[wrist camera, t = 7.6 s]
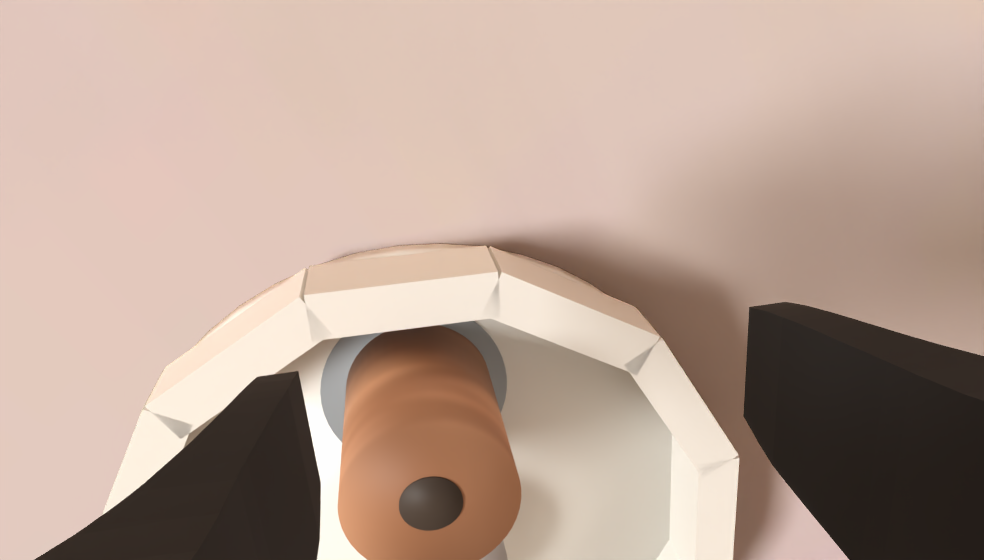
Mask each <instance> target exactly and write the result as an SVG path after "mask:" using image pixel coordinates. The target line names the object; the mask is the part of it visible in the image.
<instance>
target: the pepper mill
mask: <svg viewBox="0 0 984 560" xmlns="http://www.w3.org/2000/svg"><path fill="white" fill-rule="evenodd" d="M520 504H521V484H520V479H519V475H518V472H517V468H516V465H515V461H514V458H513V454H512V451H511V447H510V444H509V440H508V437H507V434H506V430H505V427H504V423H503V420H502V416H501V413H500V409H499V406H498V402H497V399H496V395H495V392H494V388H493V385H492V382H491V378H490V375H489V371H488V368H487V365H486V362H485V360H484V358H483V356H482V354H481V353H480V352H479V350H478V349H477V348H476V346H475V345H474V344H473V343H472V342H471V341H469V340H468V339H467V338H466V337H464V336H463V335H461V334H460V333H458V332H456V331H454V330H452V329H449V328H446V327H443V326H440V325H435V326H428V327H420V328H412V329H404V330H396V331H389V332H383V333H382V334H380V335H378V336H377V337H375V338H374V339H373V340H371V341H370V342H369V343H367V345H366V346H365V347H364V348H363V349H362V350H361V351H360V352H359V354H358V355H357V356H356V358H355V359H354V361H353V363H352V365H351V368H350V370H349V373H348V377H347V383H346V396H345V410H344V424H343V438H342V451H341V465H340V479H339V493H338V517H339V521H340V524H341V528H342V530H343V532H344V534H345V536H346V538H347V539H348V541H349V542H350V544H351V545H352V546H353V547H354V548H355V549H356V551H357V552H358V553H360V554H361V555H362V556H363V557H364V558H366V559H367V560H480V559H482V558H483V557H485V556H486V555H487V554H489V553H490V552H492V551H493V550H494V549H495V548H496V547H497V546H498V545H499V544H500V543H501V542H502V541H503V540H504V538H505V537H506V536H507V535H508V533H509V532H510V530H511V529H512V527H513V525H514V523H515V521H516V519H517V516H518V513H519V509H520Z"/></svg>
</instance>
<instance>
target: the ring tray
mask: <svg viewBox="0 0 984 560" xmlns="http://www.w3.org/2000/svg"><path fill="white" fill-rule="evenodd" d="M435 325H440V326H443V327H446V328H449V329H452V330H454V331H456V332H458V333H460V334H461V335H463V336H464V337H466V338H467V339H468V340H469V341H471V342H472V343H473V344H474V345H475V346H476V348H477V349H478V350H479V352H480V353H481V354H482V356H483V358H484V360H485V362H486V365H487V368H488V371H489V375H490V378H491V382H492V385H493V388H494V392H495V395H496V399H497V402H498V406H499V409H500V413H501V416H502V420H503V423H504V427H505V430H506V434H507V437H508V440H509V444H510V447H511V451H512V454H513V458H514V461H515V465H516V468H517V472H518V475H519V479H520V484H521V504H520V509H519V513H518V516H517V519H516V521H515V523H514V525H513V527H512V529H511V530H510V532H509V533H508V535H507V536H506V537H505V538H504V540H503V541H502V542H501V543H500V544H499V545H498V546H497V547H496V548H495V549H494V550H493V551H492V552H490V553H489V554H487V555H486V556H485V557H483V558H482V559H480V560H733V549H734V534H735V519H736V503H737V488H738V473H739V457H738V453H737V452H736V450H735V449H734V447H733V446H732V444H731V443H730V441H729V439H728V438H727V436H726V435H725V433H724V432H723V430H722V429H721V427H720V426H719V424H718V423H717V421H716V420H715V418H714V417H713V415H712V413H711V412H710V410H709V409H708V407H707V406H706V404H705V403H704V401H703V400H702V398H701V397H700V395H699V394H698V392H697V391H696V389H695V387H694V386H693V384H692V383H691V381H690V380H689V378H688V377H687V375H686V374H685V372H684V371H683V369H682V368H681V366H680V365H679V363H678V361H677V360H676V358H675V357H674V355H673V354H672V352H671V351H670V349H669V348H668V346H667V345H666V343H665V342H664V340H663V339H662V337H661V336H660V335H659V334H658V333H657V332H656V330H655V329H654V328H653V327H652V326H651V324H650V323H649V322H648V321H647V320H646V318H645V317H644V316H643V315H642V314H641V313H640V311H639V310H638V309H636V308H635V306H632V305H630V304H628V303H625V302H623V301H620V300H618V299H616V298H613V297H611V296H608V295H606V294H605V293H603V292H602V291H600V290H599V289H597V288H596V287H595V286H593V285H592V284H590V283H588V282H586V281H584V280H582V279H580V278H578V277H576V276H574V275H572V274H570V273H568V272H566V271H564V270H562V269H560V268H558V267H556V266H553V265H550V264H547V263H544V262H541V261H538V260H535V259H533V258H530V257H527V256H524V255H521V254H516V253H511V252H506V251H501V250H498V249H496V248H494V247H491V246H490V247H489V248H487V247H486V245H485V246H467V245H453V244H422V245H403V246H394V247H388V248H383V249H377V250H371V251H366V252H360V253H355V254H352V255H348V256H345V257H342V258H339V259H335V260H332V261H329V262H326V263H322V264H319V265H313V266H309V269H306V267H305V268H304V269H303V270H301V271H300V272H298V273H297V274H296V275H293V276H291V277H289V278H287V279H285V280H282V281H280V282H278V283H276V284H274V285H272V286H271V287H269V288H268V289H266V290H264V291H263V292H261V293H259V294H258V295H256V296H255V297H253V298H251V299H250V300H248V301H246V302H245V303H243V304H242V305H240V306H239V307H237V308H236V309H235V310H234V311H233V312H231V313H230V314H229V315H228V316H226V317H225V318H224V319H223V320H222V321H220V322H219V323H218V324H217V325H216V326H214V327H213V328H212V329H211V330H209V331H208V332H207V333H206V334H205V335H204V337H203V338H202V339H201V340H200V341H199V342H198V343H197V344H196V345H195V346H194V347H193V348H192V349H190V350H189V351H187V352H186V353H185V354H183V355H182V356H180V357H179V358H178V359H176V360H175V361H173V362H172V363H171V364H169V365H168V366H166V367H165V369H164V370H163V371H162V373H161V375H160V377H159V379H158V381H157V383H156V385H155V386H154V388H153V390H152V392H151V394H150V396H149V398H148V400H147V401H146V403H145V405H144V407H143V409H142V411H141V414H140V417H139V419H138V422H137V425H136V427H135V430H134V432H133V435H132V438H131V440H130V443H129V446H128V448H127V451H126V453H125V456H124V459H123V461H122V464H121V467H120V469H119V472H118V475H117V477H116V480H115V482H114V485H113V488H112V490H111V493H110V496H109V498H108V501H107V503H106V506H105V509H104V511H103V514H105V513H106V512H107V511H109V510H110V509H112V508H113V507H114V506H116V505H117V504H118V503H120V502H121V501H122V500H124V499H125V498H126V497H127V496H129V495H130V494H131V493H133V492H134V491H135V490H136V489H138V488H139V487H140V486H141V485H143V484H144V483H145V482H146V481H147V480H148V479H150V478H151V477H152V476H153V475H154V474H155V473H156V472H157V471H159V470H160V469H161V468H162V467H163V466H164V465H165V464H167V463H168V462H169V461H170V460H171V459H172V458H173V457H174V456H176V455H177V454H178V453H179V452H180V451H181V450H182V449H183V448H185V447H186V446H187V445H188V444H189V443H190V442H191V441H192V440H193V439H194V438H195V437H196V436H197V435H198V434H199V433H200V432H201V431H202V430H203V429H204V428H206V427H207V426H208V425H209V424H210V423H211V422H212V421H213V420H214V419H215V418H216V417H217V416H218V415H219V414H220V413H221V412H222V411H223V410H224V409H225V408H226V407H227V406H228V405H229V404H230V403H231V402H232V401H233V400H234V398H235V397H236V396H237V395H238V394H239V393H240V392H241V391H242V390H243V389H244V388H245V387H246V386H247V385H249V384H250V383H251V382H252V381H253V380H254V379H255V378H256V377H259V376H266V375H273V374H280V373H287V372H294V371H298V372H299V377H300V382H301V387H302V392H303V397H304V402H305V407H306V412H307V417H308V422H309V427H310V432H311V437H312V442H313V446H314V451H315V456H316V461H317V466H318V471H319V476H320V481H321V510H320V542H319V549H318V556H317V560H367V559H366V558H364V557H363V556H362V555H361V554H360V553H358V552H357V551H356V549H355V548H354V547H353V546H352V545H351V544H350V542H349V541H348V539H347V538H346V536H345V534H344V532H343V530H342V528H341V524H340V521H339V517H338V493H339V479H340V465H341V451H342V438H343V424H344V410H345V396H346V383H347V377H348V373H349V370H350V368H351V365H352V363H353V361H354V359H355V358H356V356H357V355H358V354H359V352H360V351H361V350H362V349H363V348H364V347H365V346H366V345H367V343H369V342H370V341H371V340H373V339H374V338H375V337H377V336H378V335H380V334H382V333H383V332H389V331H396V330H404V329H412V328H420V327H428V326H435ZM103 514H102V515H103Z"/></svg>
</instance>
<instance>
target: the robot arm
mask: <svg viewBox="0 0 984 560" xmlns="http://www.w3.org/2000/svg"><path fill="white" fill-rule="evenodd" d="M744 418H745V419H746V421H747V423H748V425H749V426H750V428H751V430H752V432H753V433H754V435H755V437H756V439H757V441H758V442H759V444H760V446H761V447H762V449H763V450H764V452H765V454H766V455H767V457H768V459H769V460H770V462H771V463H772V465H773V466H774V468H775V469H776V470H777V471H778V473H779V474H780V475H781V477H782V478H783V479H784V480H785V482H786V483H787V484H788V485H789V486H790V488H791V489H792V490H793V491H794V493H795V494H796V495H797V496H798V498H799V499H800V500H801V501H802V503H803V504H804V505H805V506H806V508H807V509H808V510H809V511H810V512H811V514H812V515H813V516H814V517H815V518H816V520H817V521H818V522H819V523H820V525H821V526H822V527H823V528H824V529H825V531H826V532H827V533H828V534H829V535H830V537H831V538H832V539H833V540H834V542H835V543H836V544H837V545H838V546H839V548H840V549H841V550H842V551H843V552H844V554H845V555H846V556H847V557H848V559H849V560H984V356H981V355H977V354H973V353H969V352H965V351H962V350H958V349H954V348H950V347H946V346H942V345H939V344H935V343H932V342H928V341H925V340H921V339H918V338H914V337H911V336H908V335H904V334H901V333H898V332H894V331H891V330H888V329H884V328H881V327H878V326H875V325H871V324H868V323H865V322H861V321H858V320H855V319H852V318H848V317H845V316H842V315H838V314H835V313H831V312H828V311H824V310H820V309H817V308H813V307H809V306H805V305H800V304H794V303H788V302H782V303H775V304H768V305H761V306H754V307H749V325H748V344H747V362H746V381H745V400H744ZM320 510H321V481H320V476H319V471H318V466H317V461H316V456H315V451H314V446H313V442H312V437H311V432H310V427H309V422H308V417H307V412H306V407H305V402H304V397H303V392H302V387H301V382H300V377H299V372H298V371H294V372H287V373H280V374H273V375H266V376H259V377H256V378H255V379H254V380H253V381H252V382H251V383H250V384H249V385H247V386H246V387H245V388H244V389H243V390H242V391H241V392H240V393H239V394H238V395H237V396H236V397H235V398H234V400H233V401H232V402H231V403H230V404H229V405H228V406H227V407H226V408H225V409H224V410H223V411H222V412H221V413H220V414H219V415H218V416H217V417H216V418H215V419H214V420H213V421H212V422H211V423H210V424H209V425H208V426H207V427H206V428H204V429H203V430H202V431H201V432H200V433H199V434H198V435H197V436H196V437H195V438H194V439H193V440H192V441H191V442H190V443H189V444H188V445H187V446H186V447H185V448H183V449H182V450H181V451H180V452H179V453H178V454H177V455H176V456H174V457H173V458H172V459H171V460H170V461H169V462H168V463H167V464H165V465H164V466H163V467H162V468H161V469H160V470H159V471H157V472H156V473H155V474H154V475H153V476H152V477H151V478H150V479H148V480H147V481H146V482H145V483H144V484H143V485H141V486H140V487H139V488H138V489H136V490H135V491H134V492H133V493H131V494H130V495H129V496H127V497H126V498H125V499H124V500H122V501H121V502H120V503H118V504H117V505H116V506H114V507H113V508H112V509H110V510H109V511H107V512H106V513H105V514H103V515H102V516H101V517H99V518H98V519H96V520H95V521H94V522H92V523H91V524H89V525H88V526H87V527H85V528H84V529H82V530H81V531H79V532H78V533H76V534H75V535H73V536H72V537H70V538H69V539H67V540H65V541H64V542H62V543H61V544H59V545H57V546H56V547H54V548H53V549H51V550H49V551H48V552H46V553H45V554H43V555H41V556H40V557H38V558H36V559H35V560H317V556H318V549H319V542H320Z"/></svg>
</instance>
